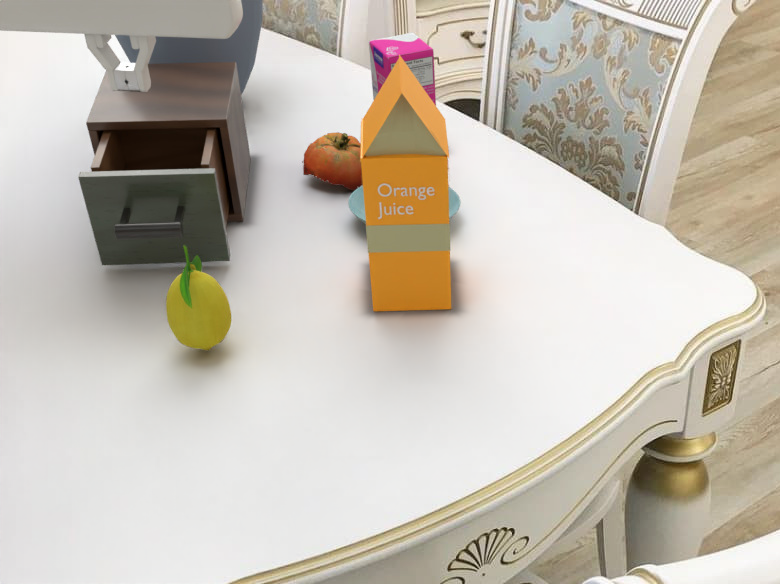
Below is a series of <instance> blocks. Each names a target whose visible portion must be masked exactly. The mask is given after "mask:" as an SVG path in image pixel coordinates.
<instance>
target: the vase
mask: <svg viewBox="0 0 780 584" xmlns="http://www.w3.org/2000/svg"><path fill="white" fill-rule="evenodd" d="M241 3H242V9H243V17H242V20H241V23H240V24H239V26H238V28H237V29H236V31H235V32H234V33H233V34H232V35H231V36H230V37H229V38H227V39H214V38H186V37H158V36H155V38H156V43H155V46H154V49H153V52H152V55H151V58H150V61H149V63H148V64H162V63H213V62H236V65H237V72H238V78H239V85H240V91H241V96H242V95H243V93H244V91H245V89H246V87H247V84H248V82H249V79H250V77H251V74H252V72H253V70H254V66H255V63H256V57H257V52H258V47H259V41H260V36H261V30H262V25H263V12H264V11H263V7H264V6H263V4H264V2H263V0H241ZM114 36H115V38H116V40H117V42H118V43H119V45H120V47H121V48H122V50H123V52H124V54H125V56H126V58H127V59H128V61H129V63H136V60H137V57H138V54H139V50H140V49H133V48H132V45H131V41H130V36H129V35H114Z"/></svg>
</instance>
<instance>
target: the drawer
mask: <svg viewBox="0 0 780 584" xmlns="http://www.w3.org/2000/svg"><path fill="white" fill-rule="evenodd" d="M90 170H91V171H80V172H79V174H78V181H79V184H80V189H81V192H82V196H83V200H84V204H85V208H86V211H87V214H88V219H89V222H90V226H91V229H92V230H91V231H92V233H93V237H94V241H95V245H96V248H97V252H98V256H99V259H100V263H101V266H125V265H126V266H128V265H129V266H130V265H155V264H156V265H158V264H184V263H185V264H186V263H187V261H186V256H185V251H184V247H183V245H185V246H186V247H187V252H188V256H189V262H192V261H193V260H194V258H195V256H196V255H198V256H199V258H200V260H201V263H213V262H215V263H216V262H230V261H231V249H230V246H229V245H230V244H229V238H228V234H227V233H228V232H227V228H228V222H227V220H228V213H229V206H230V199H231V191H230V185H229V179H228V173H227V167H226V162H225V156H224V150H223V144H222V138H221V132H220V127H213V128H173V129H133V130H104V131H103V134H102V137H101V140H100V143H99V145H98V148H97V151H96V154H95V155H94V157H93V159H92V163H91V166H90Z"/></svg>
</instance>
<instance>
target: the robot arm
mask: <svg viewBox="0 0 780 584" xmlns="http://www.w3.org/2000/svg"><path fill="white" fill-rule="evenodd" d="M242 17H243V9H242V3H241V0H0V31H1V32H27V33H28V32H29V33H49V34H50V33H52V34H53V33H54V34H76V35H77V34H78V35H81V34H82V35H84V39H85V43H86V48H87V49H88V50H89V52H90V53H91V54H92V56H93V57H94V58H95V59H96V60H97V62H98V63H99V64H100V65H101V67H103V69H104V70H105V71H106V70H107V73H108V78H109V82H110V86H111V89H112V90H113V91H135V92H147V91H148V90H149V89H150V87H151V79H150V75H149V70H148V63H149V61H150V58H151V55H152V52H153V49H154V46H155V43H156V38H155V36H158V37H186V38H214V39H227V38H229V37H230V36H231V35H232V34H233V33H234V32H235V31H236V29H237V28H238V26H239V24H240V23H241V20H242ZM115 35H129V36H130V41H131V45H132V48H133V49H140V50H139V54H138V57H137V60H136V63H130V62H125V61H123V62H122V61H121V60H120V59H119V58H118V56H117V54H116V53H115V51H114V50H113V49H112V47H111V46H110V45H109V41H110V40H111V39H112V36H115Z"/></svg>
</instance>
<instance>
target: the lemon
mask: <svg viewBox="0 0 780 584" xmlns="http://www.w3.org/2000/svg"><path fill="white" fill-rule="evenodd" d="M183 247H184V251H185V256H186V261H187V263H185V266H184V267H183V269H182V272H181V273H179V274H178V275H177V276H176V277H175V278H174V280H173V281H172V282H171V284H170V285H169V288H168V290H167V293H166V299H165V301H166V303H165V310H166V318H167V319H166V320H167V323H168V326H169V329H170V331H171V332H172V334H173V336H174V337H175V338H176V340H177V341H178V342H179V343H180V344H182V345H183V346H185V347H188V348H192V349H196V350H202V351H210V350H211V349H212V348H213V347H215V346H217V345H218V344H220V343H222V341H223V340H224V339H225V338H226V337H227V335H228V334H229V331H230V330H231V329H230V328H231V326H232V310H231V305H230V302H229V298H228V296H227V294H226V292H225V291H224V289H223V287H222V286H221V284H220V283H219V281H217V279H216V278H214V276H212V275H210V274H208V273H206V272H204V271H202V270H203V264H202V263H203V262H201V260H200V258H199V256H198V255H196V256H195V258H194V260H193V261H192V262H189V256H188V252H187V247H186V246H185V245H183Z"/></svg>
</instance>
